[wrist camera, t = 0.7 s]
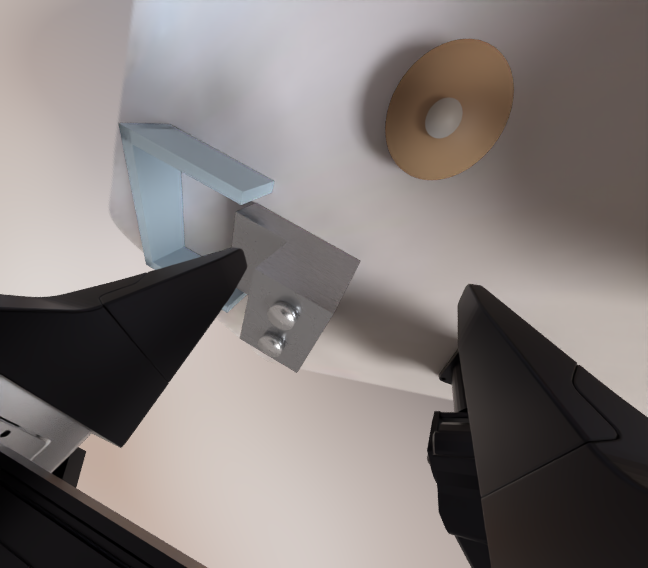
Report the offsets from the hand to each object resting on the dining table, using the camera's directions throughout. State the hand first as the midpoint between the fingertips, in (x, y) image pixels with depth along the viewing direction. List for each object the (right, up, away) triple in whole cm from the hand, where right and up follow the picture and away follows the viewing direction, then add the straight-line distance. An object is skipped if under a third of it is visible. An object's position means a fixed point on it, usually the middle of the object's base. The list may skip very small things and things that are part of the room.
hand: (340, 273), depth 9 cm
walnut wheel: (+8, +11, +7) cm, 15 cm away
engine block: (-4, +2, +18) cm, 19 cm away
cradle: (-14, +7, +19) cm, 25 cm away
